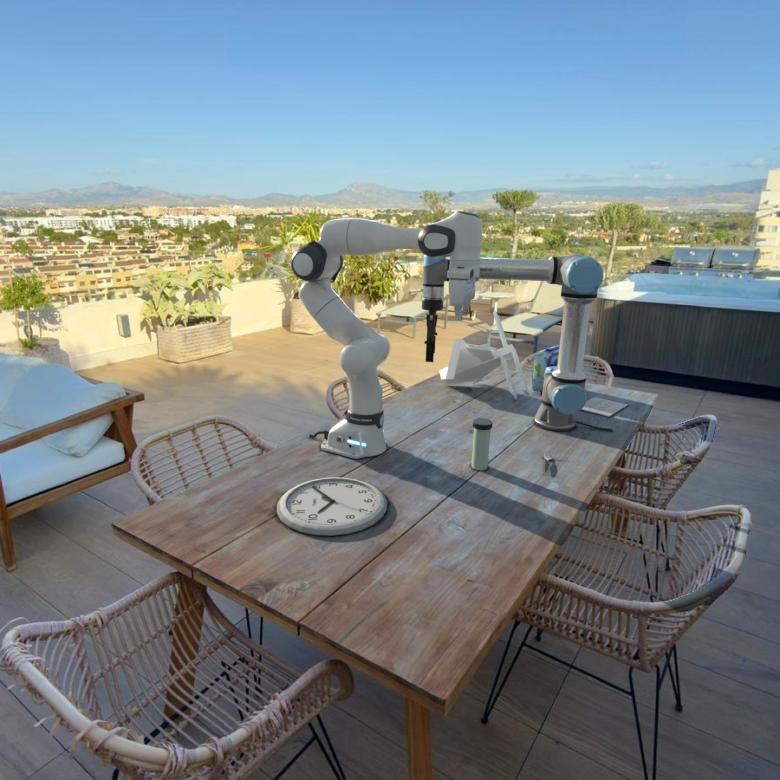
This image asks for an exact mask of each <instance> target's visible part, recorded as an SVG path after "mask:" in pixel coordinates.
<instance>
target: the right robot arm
mask: <svg viewBox="0 0 780 780" xmlns="http://www.w3.org/2000/svg"><path fill="white" fill-rule="evenodd" d="M480 258H481V262H480V276H479V277H475V278H476V283H477V282H479V281H480V280H495V281H497V280H499V281H500V280H501V281H526V282H527V281H531V282H546V283H547V284H548V285H557V286H561V289H560V298H561V299H562V300H563V303H564V305H563V313H562V322H561V330H560V339H559V355H558V364H557V366H553V367H547V368H546V369H545V373H544V382H543V392H542V394H541V402H540V405H539V406H538V410H537V411H536V413H535V416H534V424H535V425H536V426H537V427H539V428H542V429H544V430H549V431H556V432H567V431H572V430H574V429H575V428H576V424H578V425H581V426H584V427H588V428H592V429H595V430H599V431H608V432H613V428H607V427H599V426H595V425H592V424H588V423H585V422H581V421H579V420H578V421H577V420H576V418H575V417H576V416H575V414H576V413H579V412H580V411H582V410H581V409H582V408H583V407H584V406H585V404H586V401H588V397H587V392H586V389H585V388H586V383H587V382H586V381H587V375H586V374H585V373H584V371H583V369H584V361H585V355H586V347H587V339H588V338H587V337H588V330H589V324H590V318H591V317H590V316H591V308H592V303H593V302H594V301H596V300H597V298H598V294H599V293H598V291H599V288H601V285H602V284H603V281H604V269H603V267H602V265H601V264H600V262H599V261H597V260H596V259H595V258H594V257H592V256H587V255H581V254H574V255H573V254H572V255H565V256H551V257H549V258H548V259H545V258H544V259H543V258H542V259H541V258H540V259H539V258H501V257H500V258H497V257H496V258H495V257H494V258H492V257H480ZM422 264H423V265H422V288H420V292H421V293H422V294H421V296H422V299H421V309H422V310H423V311H428V313H426V316H425V320H426V340H424V342H423V343H424V344H425V362H426V363H434V359H435V357H434V356H435V353H436V338H437V337H436V336H438V332H437V329H436V328H437V324H438V318H439V315H438V314H437V311H438V312H439V311H442V310H444V299H443V298H444V297H445V282H447V283H449V278H447V272H448V270H449V266H450V258H449V259H448V258H447V257H437V258H432V257H429V256H426V255H425V254H423V263H422Z"/></svg>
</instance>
